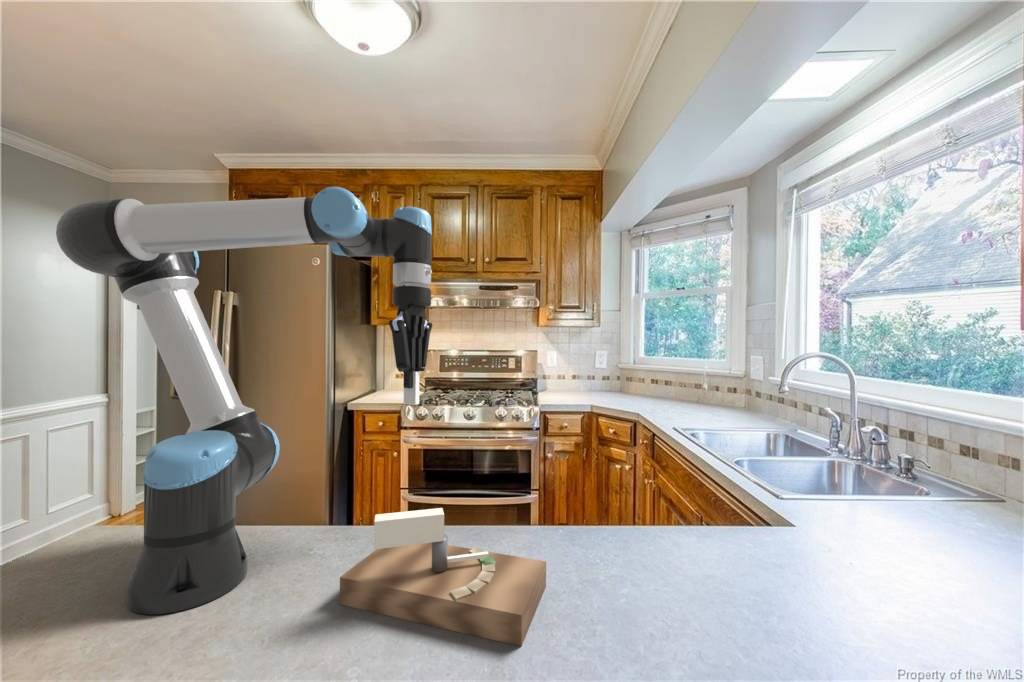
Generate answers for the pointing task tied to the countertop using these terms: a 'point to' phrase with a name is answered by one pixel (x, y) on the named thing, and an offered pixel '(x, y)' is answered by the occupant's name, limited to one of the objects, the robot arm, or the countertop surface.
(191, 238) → the robot arm
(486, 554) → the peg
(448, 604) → the board
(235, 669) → the countertop surface
